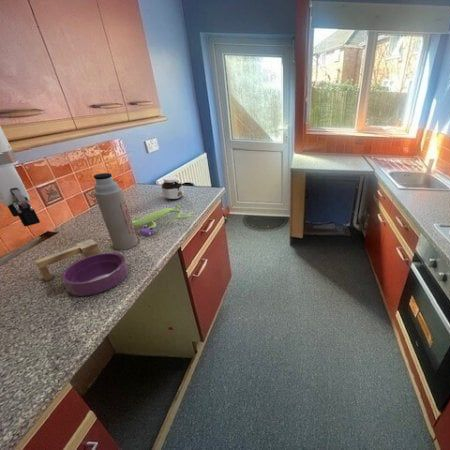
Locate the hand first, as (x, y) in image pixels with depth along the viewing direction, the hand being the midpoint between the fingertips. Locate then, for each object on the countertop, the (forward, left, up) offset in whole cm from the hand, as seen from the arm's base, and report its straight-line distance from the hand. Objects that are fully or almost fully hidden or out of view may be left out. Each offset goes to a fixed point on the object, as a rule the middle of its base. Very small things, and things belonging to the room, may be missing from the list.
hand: (26, 219), depth 71 cm
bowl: (+7, -13, -20) cm, 25 cm away
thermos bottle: (+22, +2, -20) cm, 30 cm away
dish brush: (+5, 0, -20) cm, 21 cm away
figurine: (+41, +7, -20) cm, 46 cm away
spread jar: (+62, +32, -20) cm, 73 cm away
